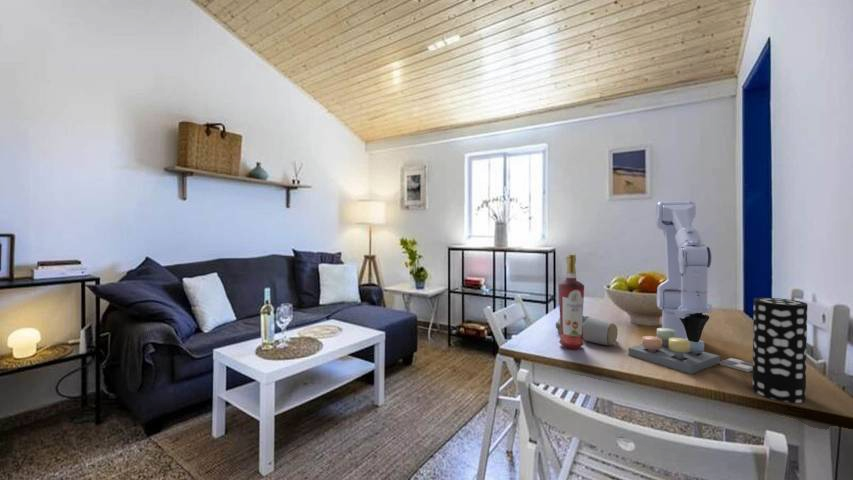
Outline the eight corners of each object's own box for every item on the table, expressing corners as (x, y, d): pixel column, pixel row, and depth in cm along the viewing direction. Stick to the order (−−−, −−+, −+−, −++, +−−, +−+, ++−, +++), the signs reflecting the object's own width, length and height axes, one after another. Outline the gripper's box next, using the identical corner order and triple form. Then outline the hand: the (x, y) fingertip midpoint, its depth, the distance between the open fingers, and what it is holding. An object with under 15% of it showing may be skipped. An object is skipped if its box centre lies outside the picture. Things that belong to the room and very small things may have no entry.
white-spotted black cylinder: (742, 386, 84) (743, 298, 83) (776, 384, 84) (777, 297, 84) (780, 404, 75) (782, 306, 75) (817, 401, 76) (819, 304, 75)
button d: (674, 354, 100) (674, 336, 100) (693, 359, 96) (693, 341, 96) (664, 357, 98) (665, 339, 97) (684, 362, 94) (684, 344, 93)
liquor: (563, 351, 109) (563, 255, 108) (554, 343, 116) (554, 254, 115) (588, 350, 109) (588, 255, 108) (578, 343, 116) (578, 253, 115)
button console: (657, 346, 112) (657, 339, 112) (719, 363, 98) (719, 355, 98) (628, 354, 105) (628, 347, 105) (691, 373, 91) (691, 365, 91)
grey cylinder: (609, 349, 110) (609, 323, 110) (582, 343, 116) (582, 318, 116) (622, 341, 117) (622, 317, 117) (596, 336, 123) (596, 313, 123)
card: (730, 360, 100) (730, 357, 100) (759, 367, 95) (759, 364, 95) (719, 364, 97) (719, 361, 97) (748, 372, 92) (748, 369, 92)
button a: (662, 343, 109) (662, 327, 109) (679, 347, 105) (679, 330, 105) (653, 345, 107) (653, 329, 107) (670, 350, 103) (670, 333, 103)
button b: (688, 354, 103) (688, 337, 103) (707, 359, 99) (707, 341, 99) (679, 357, 101) (679, 340, 101) (698, 362, 97) (698, 344, 97)
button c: (648, 351, 106) (648, 335, 106) (665, 356, 102) (665, 339, 102) (638, 354, 104) (638, 337, 104) (655, 359, 100) (655, 341, 100)
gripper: (696, 296, 92) (695, 350, 93) (724, 290, 99) (724, 340, 100) (666, 291, 99) (666, 342, 99) (695, 286, 106) (695, 334, 106)
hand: (693, 341), depth 100 cm, fingers closed, pressing on button b
